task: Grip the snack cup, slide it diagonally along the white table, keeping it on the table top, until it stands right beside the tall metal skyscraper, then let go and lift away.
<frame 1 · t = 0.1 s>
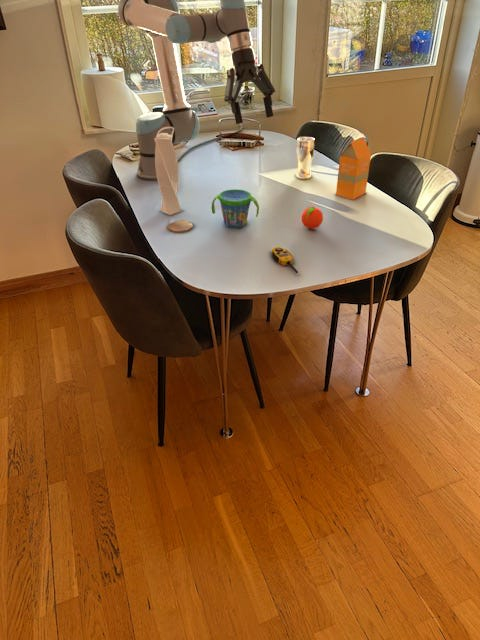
hand: (255, 120, 160), 28 cm above the table, tool tilted 20°, fingers open, 13 cm apart
skyscraper: (172, 211, 168), on the table
beer glass: (303, 176, 196), on the table
clementine: (310, 228, 155), on the table
orange juice: (350, 194, 179), on the table
snack cup: (235, 224, 159), on the table
cork coaster: (180, 227, 157), on the table
yellow walkie talkie: (286, 263, 137), on the table
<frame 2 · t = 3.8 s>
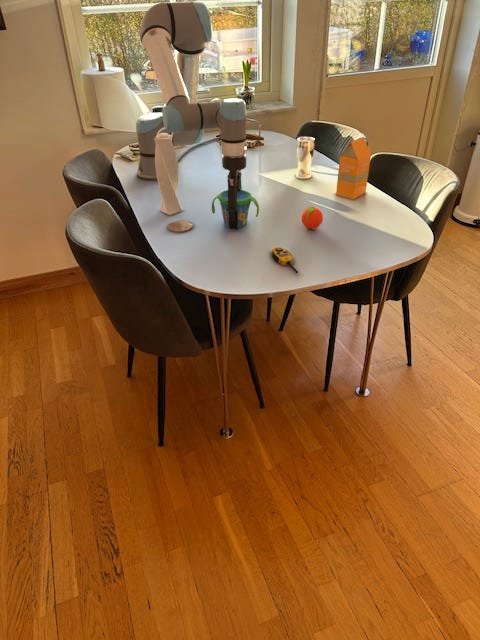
hand: (235, 222, 158), 1 cm above the table, tool pointing down, fingers closed on snack cup, 9 cm apart
snack cup: (235, 224, 159), on the table, touching gripper
everything else where it was.
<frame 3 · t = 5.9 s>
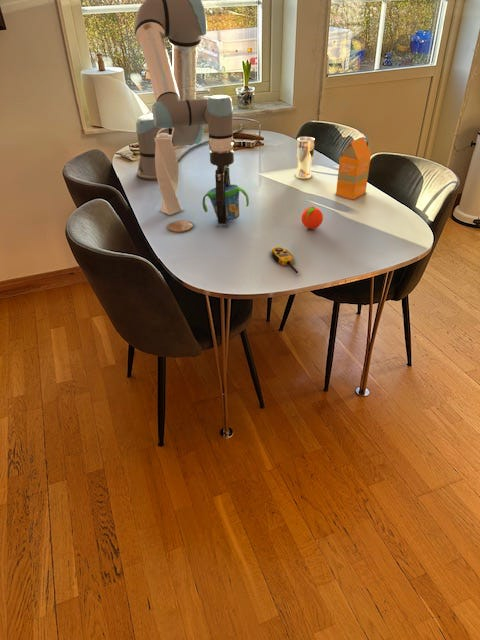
hand: (224, 217, 161), 1 cm above the table, tool pointing down, fingers closed on snack cup, 9 cm apart
snack cup: (229, 219, 160), point 1 cm above the table, touching gripper
everything else where it was.
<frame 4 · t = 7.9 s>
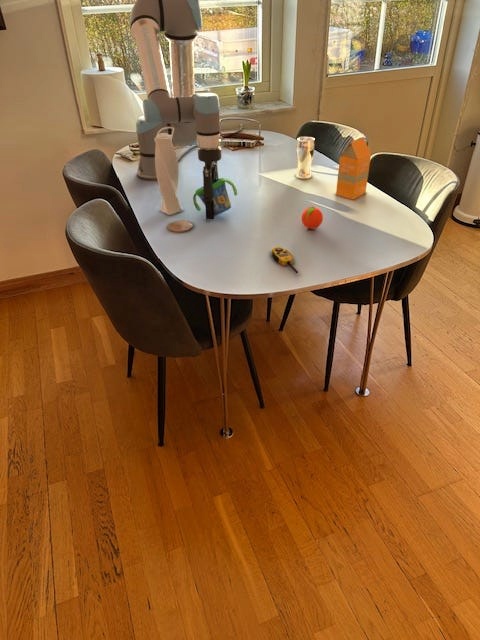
hand: (212, 213, 164), 1 cm above the table, tool pointing down, fingers closed on snack cup, 9 cm apart
snack cup: (222, 212, 163), point 2 cm above the table, touching gripper
everything else where it was.
when the fingers open (1 cm above the table, at t = 8.2 s): snack cup drops 1 cm, point 1 cm above the table.
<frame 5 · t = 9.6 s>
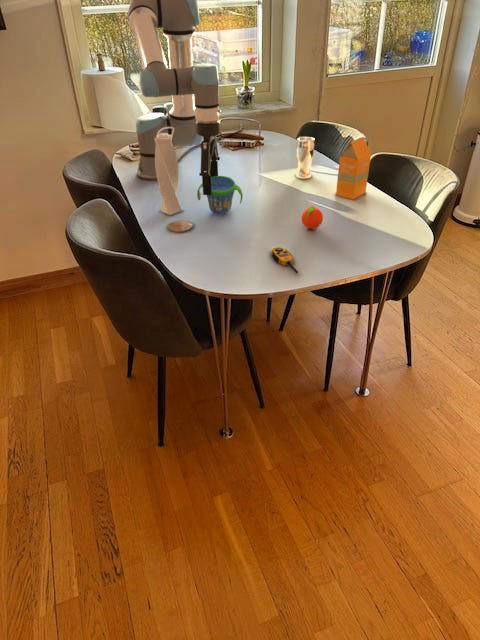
hand: (211, 187, 160), 10 cm above the table, tool pointing down, fingers open, 13 cm apart
snack cup: (220, 209, 167), point 1 cm above the table, touching gripper
everything else where it was.
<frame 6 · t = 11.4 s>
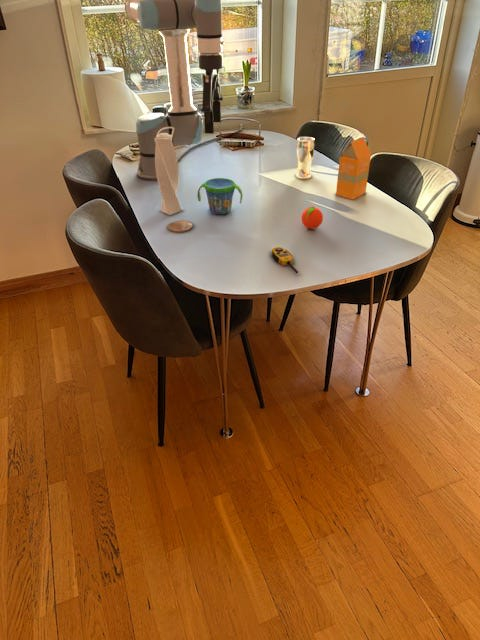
hand: (213, 127, 155), 27 cm above the table, tool pointing down, fingers open, 13 cm apart
snack cup: (220, 211, 168), on the table
everything else where it was.
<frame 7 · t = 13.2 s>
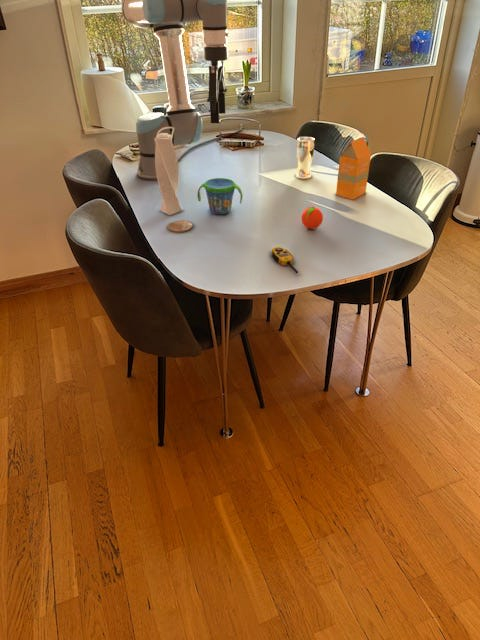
hand: (218, 118, 159), 29 cm above the table, tool pointing down, fingers open, 13 cm apart
nothing on the table moved.
at the end: snack cup inside the target area on the table beside the skyscraper (4.2 cm from its centre), on the table; snack cup tilted 0°; skyscraper moved 0.2 cm from its start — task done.
